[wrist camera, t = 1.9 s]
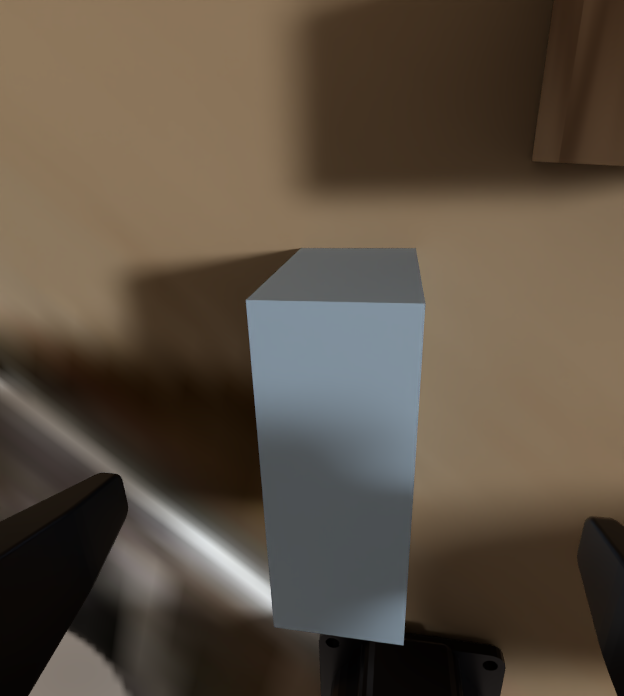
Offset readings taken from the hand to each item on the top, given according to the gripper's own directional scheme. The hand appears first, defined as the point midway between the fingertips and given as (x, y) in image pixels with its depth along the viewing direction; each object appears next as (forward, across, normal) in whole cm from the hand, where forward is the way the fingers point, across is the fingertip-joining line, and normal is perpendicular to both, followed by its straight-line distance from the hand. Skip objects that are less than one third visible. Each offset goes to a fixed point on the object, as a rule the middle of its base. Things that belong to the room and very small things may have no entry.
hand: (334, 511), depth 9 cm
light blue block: (+5, 0, 0) cm, 5 cm away
